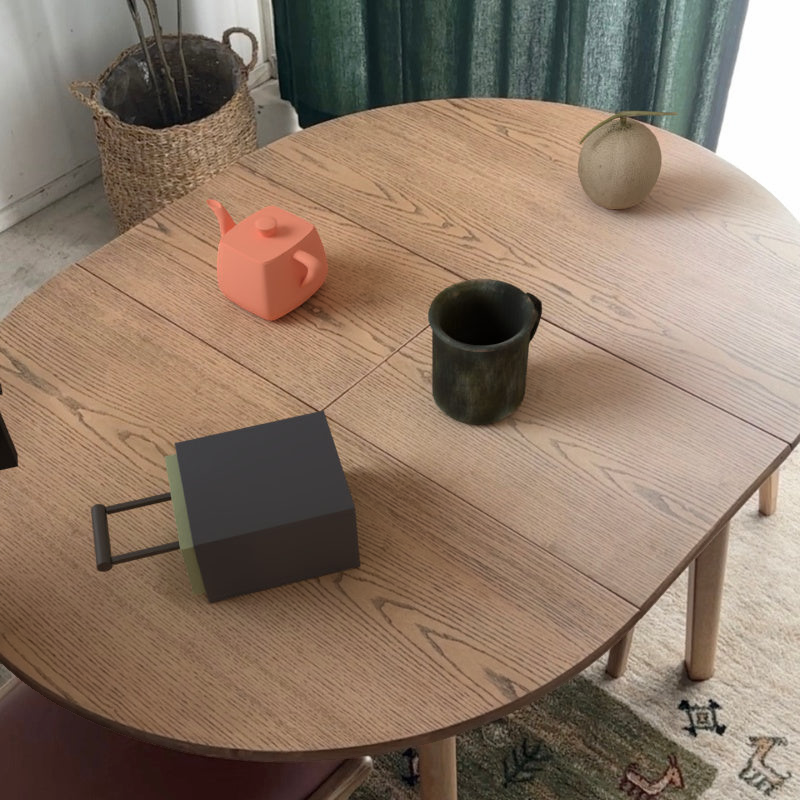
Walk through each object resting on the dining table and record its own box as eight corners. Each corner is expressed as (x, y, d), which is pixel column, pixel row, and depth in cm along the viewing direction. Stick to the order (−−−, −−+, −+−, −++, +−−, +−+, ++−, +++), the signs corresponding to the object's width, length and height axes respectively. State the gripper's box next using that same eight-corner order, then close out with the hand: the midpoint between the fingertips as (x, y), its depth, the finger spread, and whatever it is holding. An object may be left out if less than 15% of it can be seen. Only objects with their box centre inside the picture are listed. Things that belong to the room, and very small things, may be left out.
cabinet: (209, 604, 99) (193, 545, 92) (190, 502, 107) (174, 442, 101) (360, 566, 101) (355, 507, 95) (330, 470, 110) (323, 410, 103)
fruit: (556, 187, 144) (566, 87, 133) (634, 173, 146) (650, 73, 135) (585, 232, 137) (598, 130, 126) (667, 216, 139) (687, 115, 128)
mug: (407, 394, 117) (405, 312, 109) (498, 332, 124) (503, 250, 115) (478, 447, 112) (482, 365, 103) (569, 378, 118) (579, 296, 110)
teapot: (293, 343, 124) (283, 274, 116) (186, 284, 132) (171, 215, 124) (356, 292, 130) (351, 223, 122) (251, 238, 138) (240, 170, 130)
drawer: (110, 617, 97) (91, 570, 92) (99, 521, 105) (82, 474, 100) (334, 561, 101) (329, 514, 96) (309, 474, 109) (302, 425, 103)
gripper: (-42, 283, 67) (51, 512, 84) (-41, 172, 76) (43, 400, 93) (-167, 305, 66) (-47, 534, 83) (-151, 189, 75) (-45, 418, 92)
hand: (1, 463), depth 88 cm, fingers closed
